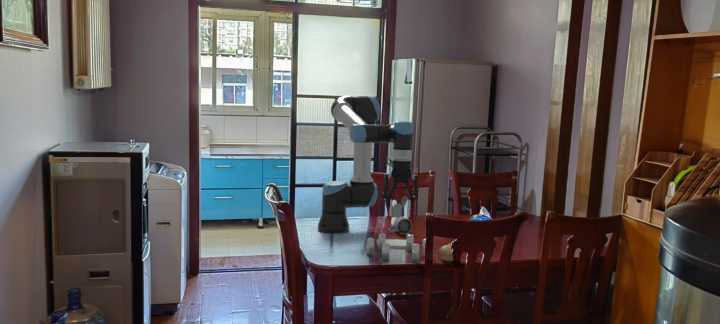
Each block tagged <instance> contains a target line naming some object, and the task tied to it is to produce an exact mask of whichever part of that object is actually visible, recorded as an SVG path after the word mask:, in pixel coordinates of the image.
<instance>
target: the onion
mask: <svg viewBox="0 0 720 324" xmlns="http://www.w3.org/2000/svg"><path fill="white" fill-rule="evenodd" d="M451 243H452V242H451ZM451 243H450V242H447V244H445V245H443V246H441V247H440V248H439V250H438V255H439V257H440V259H441V261H442V260H443V261H442V262H445V261H447V263H452V262H451V261H452V249H451Z"/></svg>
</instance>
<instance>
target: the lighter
mask: <svg viewBox="0 0 720 324" xmlns="http://www.w3.org/2000/svg"><path fill="white" fill-rule="evenodd" d="M408 200H409V198H408V197H407V196H402V198H401V201H400V203H394V206H393V205H392V216H391V218H395V219H396V218H398V217H403V216H402V214H403V211H402V210H403V208H405V207H406V204H407V203H408Z"/></svg>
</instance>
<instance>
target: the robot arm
mask: <svg viewBox="0 0 720 324" xmlns="http://www.w3.org/2000/svg"><path fill="white" fill-rule="evenodd" d="M330 112H331V116H332V118H333V119H334V120H335V121H337V122H339V123H341V124H342V125H343V126H344V127H345V128H346V129H347V130H348V131H349V139H350V141H351V142H352V143H353V165H352V166H353V173H352V174H353V175H352V177H351V178H350V179H349V183H348V182H347V181H346V180H332V181H328V182H326V183H324V184H323V186H322V190H321V191H322V192H321V195H322V197H321V208H322V209H321V215H320V218H319V221H318V224H317V230H318V231H320V232H322V233H329V234H341V233H347V232H348V231H349V230H350V224H349V219H348V217H347V209H349V208H350V209H352V208H368V207H369V208H370V207H372V206H375V204H376V202H377V199H378V193H379V191H378V186H377V184H376V183H375V182H374V179H373V178H372V177H371V176H372V152H373V151H372V148H373V147H372V145H373V144H374V143H375V144H378V143H382V144H388V143H389V144H393V145H392V146H393V147H392V148H393V149H392V159H393V160H392V165H391V166H392V167H391V168H392V169H391V172H390V173H384V175H383V176H384V185H383V192H382V197H383V199H385V200H386V207H387V208H388V211H389V212H388V215H389V217H392V206H393V199H392V197H393V194H394V192H395V189H396V187H397V185H398V184H401V183H402V184H404V185H405V187H406V191H407V195H408V197H409V198H408V200H407V208H406V209H407V210H406V211H407V212H406V215H407V217H408V218H410V217H411V209H413V207H414V201H415V200H418V199H419V194H418V193H419V192H418V190H419V189H418V180H419V175H418V174H414V173H412V155H413V154H412V152H413V151H412V149H413V136H414V130H413V129H414V126H413V125H414V124H413V122H412V121H405V120H404V121H402V120H397V121H395V122H394V124H392V123H389V124H376V123H377V122H378V121H380V118H381V106H380V103H379V100H378V99H377V98H376V97H374V96H368V95H365V96H364V95H361V96H360V95H343V96H339V97H338V98H337V99H335V100H334V101H333V103H332V105H331V108H330ZM391 177H392V179H393V181H392V185H391V187H390V189H389V183H390V181H389V180H391ZM411 177H412V178H411ZM410 178H411V179H412V185H413V193H412V191H411V187H410V183H409V180H410ZM388 189H389V191H388Z"/></svg>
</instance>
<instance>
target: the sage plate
mask: <svg viewBox="0 0 720 324" xmlns="http://www.w3.org/2000/svg"><path fill="white" fill-rule="evenodd" d="M375 241H376V245H377V246H378V238H377V239H375ZM385 243H389V244H390V249H405V250H406V239H391V238H390V239H387V238H386V239H385Z"/></svg>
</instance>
